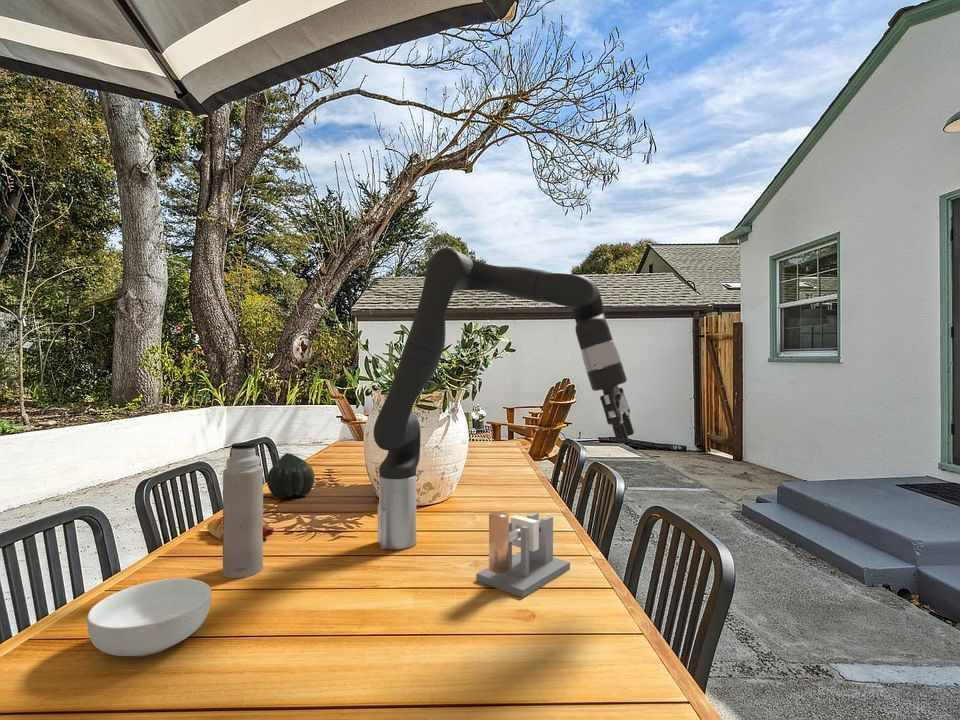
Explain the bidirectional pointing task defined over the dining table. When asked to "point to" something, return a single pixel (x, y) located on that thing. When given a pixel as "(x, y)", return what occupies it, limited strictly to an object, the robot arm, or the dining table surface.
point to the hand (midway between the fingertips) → (626, 438)
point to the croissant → (217, 528)
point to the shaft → (501, 541)
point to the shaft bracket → (528, 563)
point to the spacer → (533, 531)
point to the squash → (290, 477)
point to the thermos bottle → (242, 512)
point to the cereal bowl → (149, 616)
